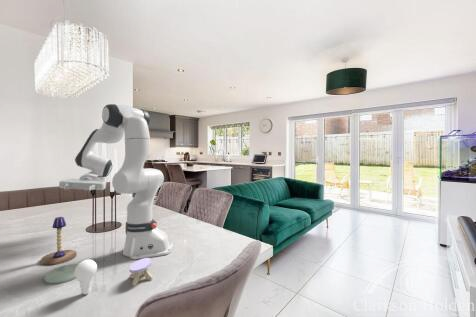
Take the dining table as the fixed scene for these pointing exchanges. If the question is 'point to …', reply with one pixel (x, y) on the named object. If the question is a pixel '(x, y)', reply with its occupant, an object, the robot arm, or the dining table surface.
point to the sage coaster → (61, 274)
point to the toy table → (140, 270)
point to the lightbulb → (85, 274)
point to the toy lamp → (59, 236)
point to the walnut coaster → (53, 261)
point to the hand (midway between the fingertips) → (77, 188)
